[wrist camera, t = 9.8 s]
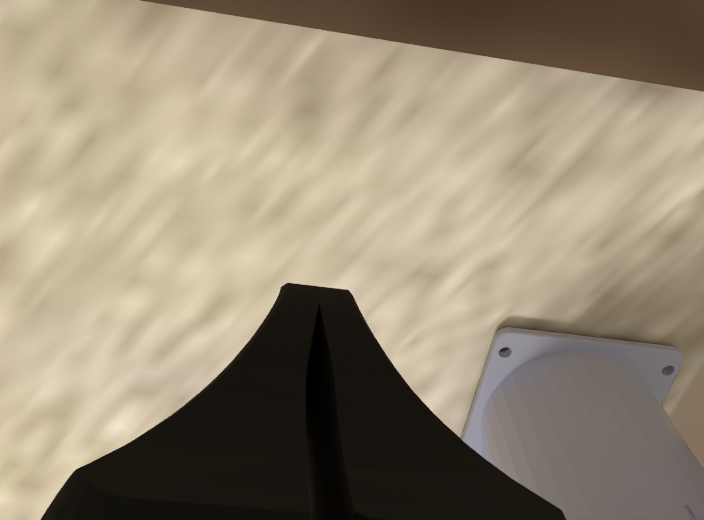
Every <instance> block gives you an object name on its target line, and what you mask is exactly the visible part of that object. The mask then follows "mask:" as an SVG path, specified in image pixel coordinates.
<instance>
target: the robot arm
mask: <svg viewBox="0 0 704 520" xmlns="http://www.w3.org/2000/svg"><path fill="white" fill-rule="evenodd" d="M504 347H508V350H506V351H504V352H500V349H502V348H504ZM684 359H685V357H684V354H683V353H682V352H681V350H680V349H679V348H678V347H674V346H667V345H658V344H650V343H641V342H632V341H624V340H615V339H607V338H598V337H589V336H581V335H572V334H564V333H555V332H546V331H538V330H529V329H521V328H512V327H505V328H502V329H500V330H499V331H498V332H497V333H496V334H495V336H494V339H493V342H492V345H491V348H490V352H489V355H488V358H487V361H486V364H485V367H484V370H483V373H482V376H481V379H480V382H479V385H478V388H477V391H476V394H475V397H474V400H473V403H472V407H471V410H470V413H469V416H468V419H467V422H466V425H465V428H464V431H463V434H462V437H461V439H460V438H459V437H458V436H457V435H456V434H455V433H454V432H453V431H452V430H450V429H449V428H448V427H447V426H446V425H445V424H444V423H443V422H442V421H441V420H440V419H439V418H438V417H437V416H436V415H435V414H434V413H433V412H432V411H431V410H430V409H429V408H428V407H427V406H426V405H425V404H424V403H423V402H422V401H421V399H420V398H419V397H418V396H417V395H416V394H415V393H414V392H413V390H412V389H411V388H410V387H409V386H408V384H407V383H406V382H405V380H404V379H403V378H402V376H401V375H400V374H399V372H398V371H397V370H396V368H395V367H394V366H393V364H392V363H391V361H390V360H389V358H388V357H387V355H386V354H385V352H384V351H383V349H382V348H381V346H380V344H379V343H378V341H377V340H376V338H375V337H374V335H373V333H372V332H371V330H370V328H369V326H368V325H367V323H366V321H365V319H364V317H363V315H362V314H361V312H360V310H359V308H358V306H357V304H356V302H355V299H354V297H353V295H352V294H351V293H350V291H349V290H343V289H335V288H326V287H318V286H310V285H301V284H293V283H287V284H285V285H284V286H282V287H281V290H280V293H279V295H278V298H277V300H276V302H275V304H274V305H273V307H272V309H271V310H270V312H269V314H268V315H267V317H266V318H265V320H264V321H263V323H262V324H261V326H260V327H259V328H258V330H257V331H256V333H255V334H254V335H253V337H252V338H251V339H250V341H249V342H248V343H247V344H246V345H245V347H244V348H243V349H242V350H241V351H240V352H239V354H238V355H237V356H236V357H235V358H234V360H233V361H232V362H231V363H230V364H229V365H228V366H227V367H226V368H225V369H224V370H223V371H222V372H221V373H220V374H219V375H218V376H217V377H216V378H215V379H214V380H213V381H212V382H211V383H210V384H209V385H208V386H207V387H206V388H204V389H203V390H202V391H201V392H200V393H199V394H197V395H196V396H195V397H194V398H193V399H191V400H190V401H189V402H188V403H186V404H185V405H184V406H183V407H182V408H180V409H179V410H178V411H176V412H175V413H174V414H172V415H171V416H170V417H168V418H167V419H165V420H164V421H162V422H161V423H159V424H158V425H156V426H155V427H153V428H152V429H150V430H148V431H147V432H145V433H144V434H142V435H141V436H139V437H138V438H136V439H135V440H133V441H131V442H130V443H128V444H126V445H125V446H123V447H121V448H119V449H117V450H115V451H113V452H111V453H109V454H107V455H105V456H103V457H101V458H99V459H97V460H95V461H93V462H91V463H89V464H87V465H85V466H83V467H80V468H78V469H76V470H75V471H74V472H73V473H72V475H71V476H70V477H69V479H68V480H67V481H66V483H65V484H64V485H63V487H62V488H61V490H60V491H59V492H58V494H57V495H56V497H55V498H54V500H53V501H52V503H51V504H50V506H49V507H48V509H47V510H46V512H45V514H44V515H43V517H42V518H41V520H704V469H703V467H702V466H701V464H700V463H699V461H698V460H697V458H696V457H695V455H694V454H693V452H692V451H691V449H690V448H689V446H688V445H687V443H686V442H685V440H684V439H683V437H682V436H681V434H680V433H679V431H678V430H677V428H676V427H675V425H674V424H673V422H672V421H671V419H670V418H669V416H668V415H667V413H666V412H665V410H664V409H663V407H662V406H661V405H662V403H663V401H664V399H665V397H666V395H667V393H668V391H669V389H670V387H671V385H672V383H673V381H674V380H675V378H676V376H677V374H678V372H679V370H680V368H681V366H682V364H683V362H684ZM666 366H669V367H668V368H666V369H663V368H664V367H666ZM662 369H663V370H662Z"/></svg>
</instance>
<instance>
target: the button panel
mask: <svg viewBox="0 0 704 520" xmlns="http://www.w3.org/2000/svg"><path fill="white" fill-rule="evenodd" d="M142 1H148V2H154V3H160V4H166V5H172V6H179V7H185V8H191V9H197V10H203V11H210V12H216V13H222V14H228V15H234V16H240V17H247V18H253V19H259V20H265V21H271V22H278V23H284V24H290V25H296V26H302V27H308V28H315V29H321V30H327V31H333V32H339V33H346V34H352V35H358V36H364V37H370V38H376V39H383V40H389V41H395V42H401V43H407V44H414V45H420V46H426V47H432V48H438V49H444V50H451V51H457V52H463V53H469V54H475V55H482V56H488V57H494V58H500V59H506V60H512V61H519V62H525V63H531V64H537V65H543V66H550V67H556V68H562V69H568V70H574V71H580V72H587V73H593V74H599V75H605V76H611V77H618V78H624V79H630V80H636V81H642V82H648V83H655V84H661V85H667V86H673V87H679V88H686V89H692V90H698V91H704V0H142Z"/></svg>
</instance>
